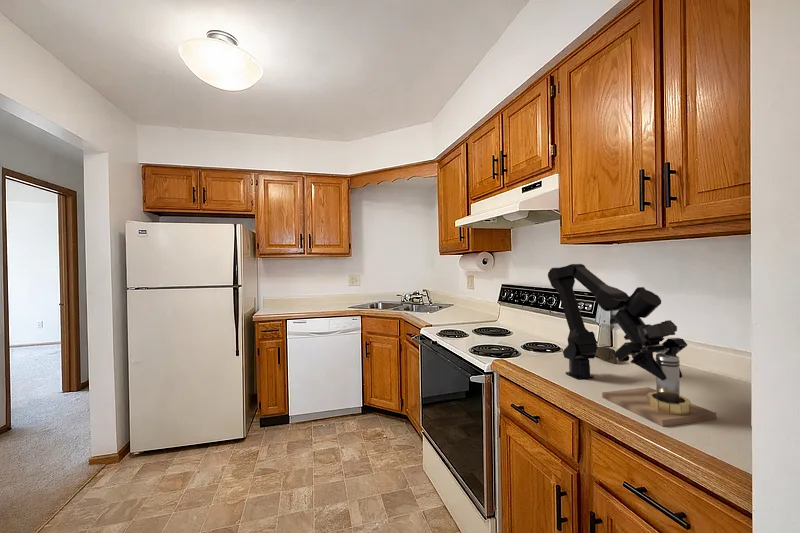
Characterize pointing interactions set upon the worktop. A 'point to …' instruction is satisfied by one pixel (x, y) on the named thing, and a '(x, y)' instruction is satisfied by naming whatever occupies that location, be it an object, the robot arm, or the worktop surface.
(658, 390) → the piston
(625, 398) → the walnut board
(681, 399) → the brass ring collar
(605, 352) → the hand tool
